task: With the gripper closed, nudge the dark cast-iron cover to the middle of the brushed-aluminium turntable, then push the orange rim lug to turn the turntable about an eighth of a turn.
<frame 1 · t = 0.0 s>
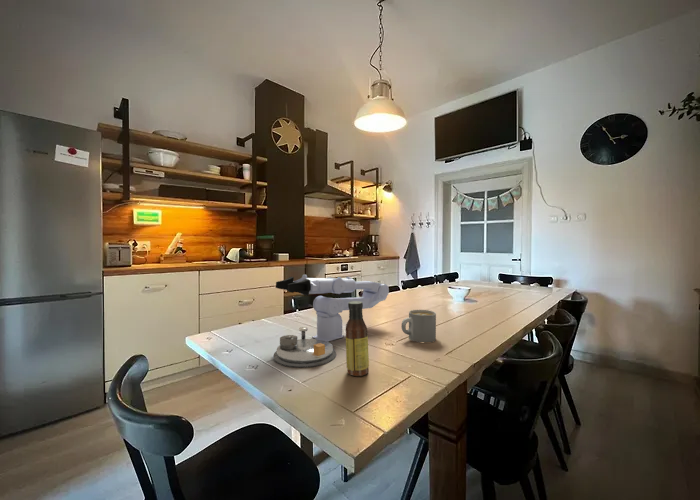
hand: (282, 286, 104), 22 cm above the table, tool horizontal, fingers open, 7 cm apart
sauce bottle: (357, 373, 86), on the table
coffee mug: (417, 339, 117), on the table
turntable: (305, 345, 100), point 3 cm above the table, hinge at 0.0°, touching cover
cover: (288, 347, 100), point 2 cm above the table, touching turntable
turntable base: (305, 355, 100), on the table
small grey dumbbell: (303, 342, 112), on the table
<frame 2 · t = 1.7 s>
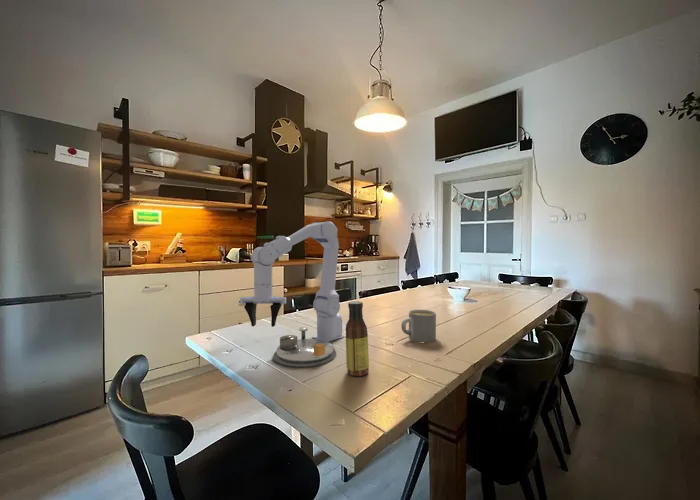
hand: (263, 325, 100), 9 cm above the table, tool pointing down, fingers open, 6 cm apart
nothing on the table moved.
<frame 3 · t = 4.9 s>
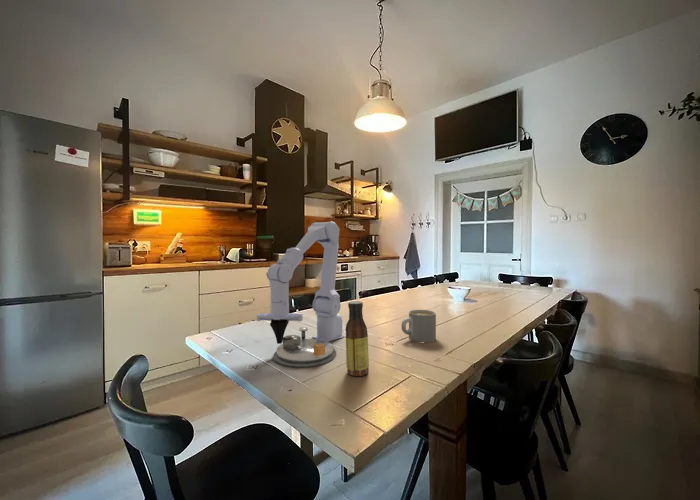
hand: (279, 342, 100), 4 cm above the table, tool pointing down, fingers closed
cover: (291, 347, 100), point 2 cm above the table, touching gripper, turntable
everything else where it was.
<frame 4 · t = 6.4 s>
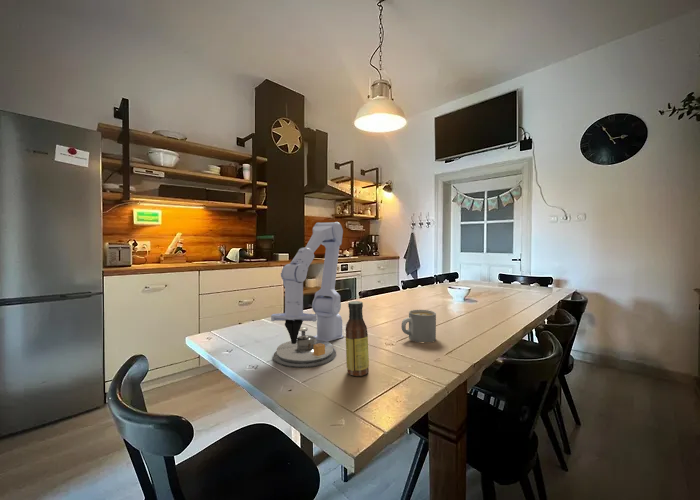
hand: (294, 342, 100), 4 cm above the table, tool pointing down, fingers closed
cover: (306, 347, 99), point 2 cm above the table, touching gripper, turntable
everything else where it was.
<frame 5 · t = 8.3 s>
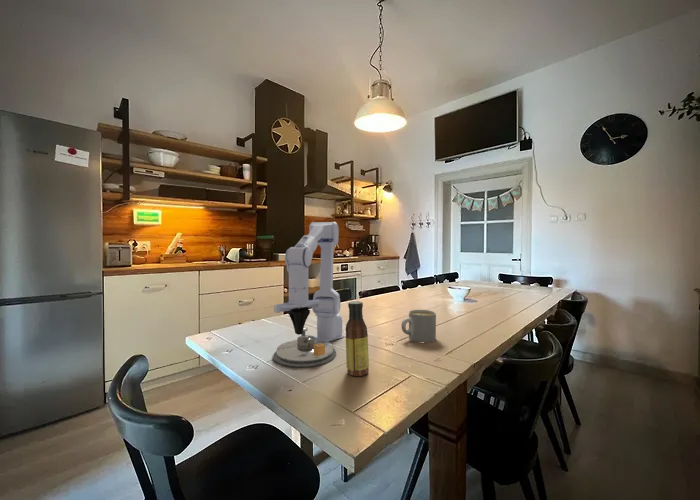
hand: (298, 333, 91), 10 cm above the table, tool pointing down, fingers closed
cover: (306, 347, 99), point 2 cm above the table, touching turntable
everything else where it was.
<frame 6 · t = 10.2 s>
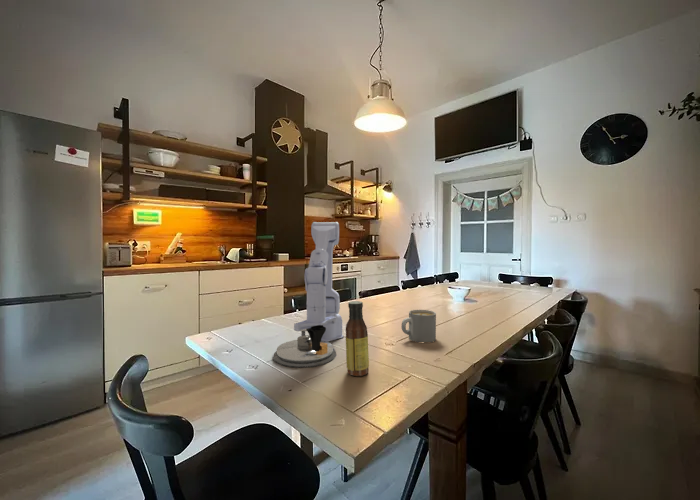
hand: (316, 350, 94), 4 cm above the table, tool pointing down, fingers closed, pressing on turntable
turntable: (305, 345, 100), point 3 cm above the table, hinge at 7.8°, touching cover, gripper
everything else where it was.
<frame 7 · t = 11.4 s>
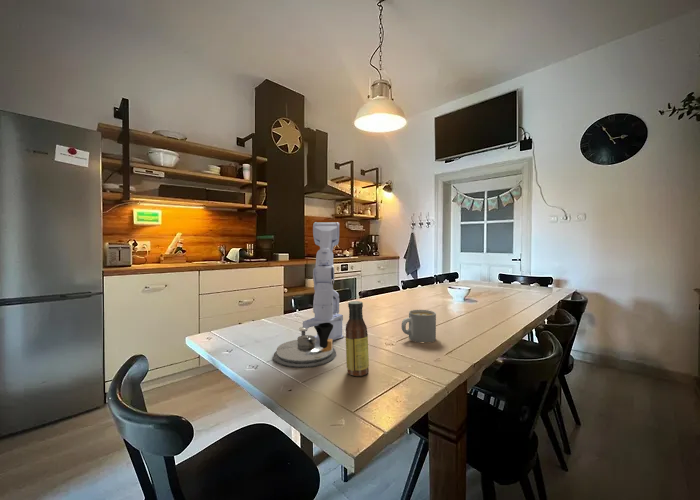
hand: (323, 347, 97), 4 cm above the table, tool pointing down, fingers closed, pressing on turntable
turntable: (305, 345, 100), point 3 cm above the table, hinge at 40.2°, touching cover, gripper
everything else where it was.
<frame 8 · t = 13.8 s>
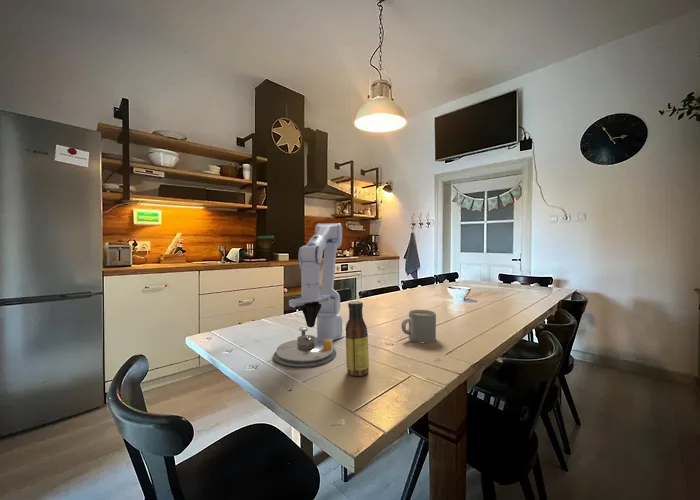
hand: (310, 326, 97), 10 cm above the table, tool pointing down, fingers closed
turntable: (305, 345, 100), point 3 cm above the table, hinge at 40.2°, touching cover
everything else where it was.
at the end: cover 0.4 cm from the turntable (horizontally); turntable at +40° (first picture: +0°); cover tilted 0° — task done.
